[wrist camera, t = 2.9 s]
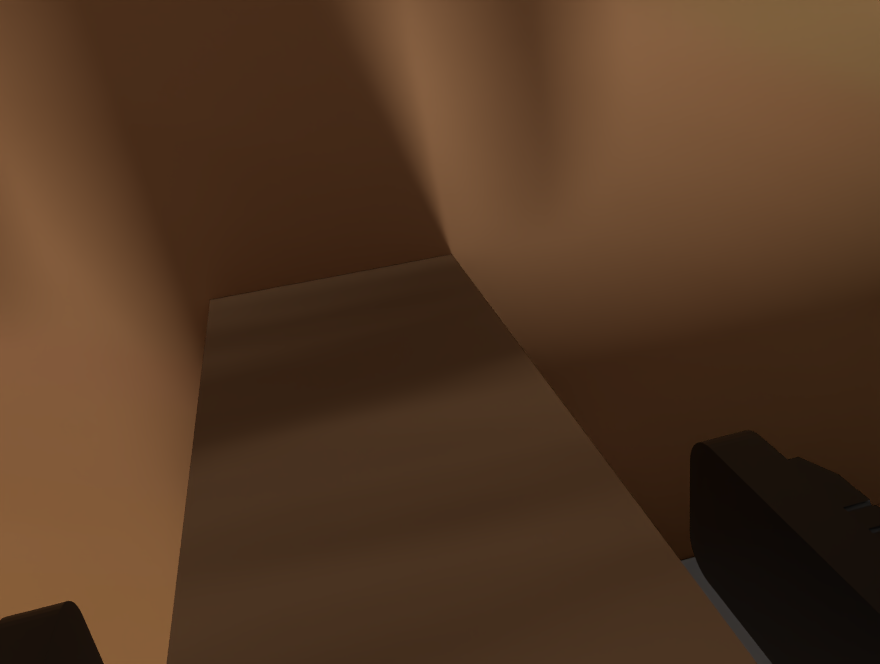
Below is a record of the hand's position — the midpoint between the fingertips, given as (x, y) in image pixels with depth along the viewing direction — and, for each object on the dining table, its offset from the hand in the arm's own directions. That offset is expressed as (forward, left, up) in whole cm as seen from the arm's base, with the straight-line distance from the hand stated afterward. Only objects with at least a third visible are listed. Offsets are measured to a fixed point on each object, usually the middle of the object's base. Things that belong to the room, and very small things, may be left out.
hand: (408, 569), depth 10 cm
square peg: (-1, 0, -4) cm, 4 cm away
